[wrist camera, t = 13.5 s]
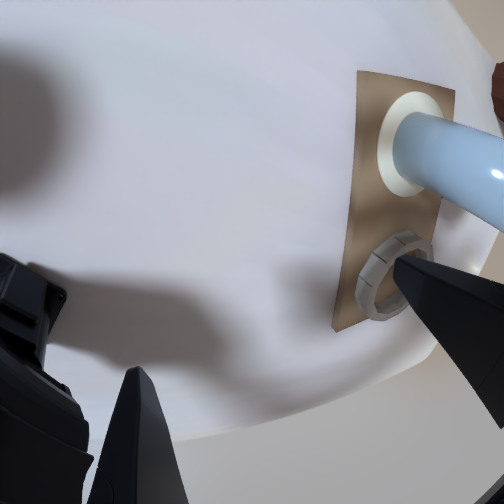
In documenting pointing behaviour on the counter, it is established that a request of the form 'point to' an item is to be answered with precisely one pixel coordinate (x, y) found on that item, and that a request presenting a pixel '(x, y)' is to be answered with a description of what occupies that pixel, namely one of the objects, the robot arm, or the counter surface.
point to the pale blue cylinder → (453, 163)
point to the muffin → (498, 90)
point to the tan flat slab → (385, 199)
